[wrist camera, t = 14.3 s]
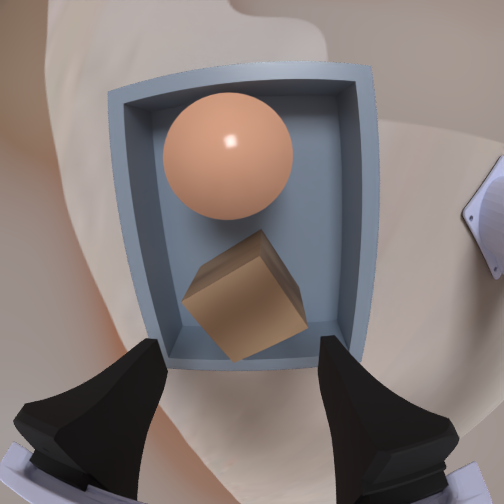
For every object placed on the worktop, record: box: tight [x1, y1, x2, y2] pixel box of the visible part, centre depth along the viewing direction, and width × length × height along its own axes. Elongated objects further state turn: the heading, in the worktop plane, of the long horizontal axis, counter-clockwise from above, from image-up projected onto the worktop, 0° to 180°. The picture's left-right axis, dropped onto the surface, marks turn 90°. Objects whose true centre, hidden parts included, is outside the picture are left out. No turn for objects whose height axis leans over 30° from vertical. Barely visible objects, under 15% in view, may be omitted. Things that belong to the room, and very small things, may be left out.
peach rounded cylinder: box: [163, 93, 293, 220], centre depth 13 cm, size 5×5×7 cm
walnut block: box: [181, 229, 308, 363], centre depth 17 cm, size 5×5×5 cm
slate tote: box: [108, 61, 380, 371], centre depth 17 cm, size 18×14×5 cm
